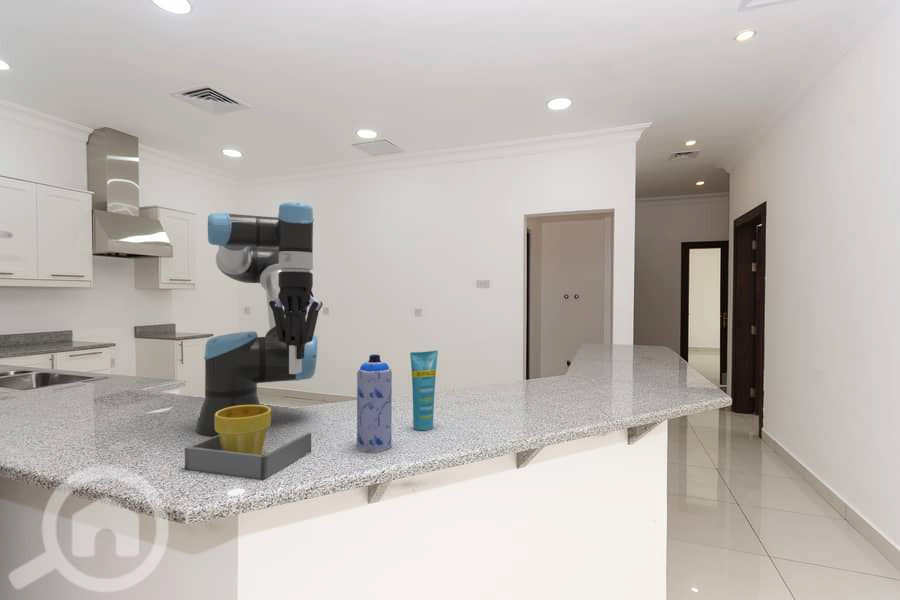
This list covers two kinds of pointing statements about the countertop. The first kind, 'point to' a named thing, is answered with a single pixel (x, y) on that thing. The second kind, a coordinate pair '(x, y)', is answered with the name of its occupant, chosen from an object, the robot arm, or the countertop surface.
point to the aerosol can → (374, 406)
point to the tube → (423, 388)
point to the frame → (244, 458)
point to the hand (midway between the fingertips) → (295, 372)
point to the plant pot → (243, 428)
